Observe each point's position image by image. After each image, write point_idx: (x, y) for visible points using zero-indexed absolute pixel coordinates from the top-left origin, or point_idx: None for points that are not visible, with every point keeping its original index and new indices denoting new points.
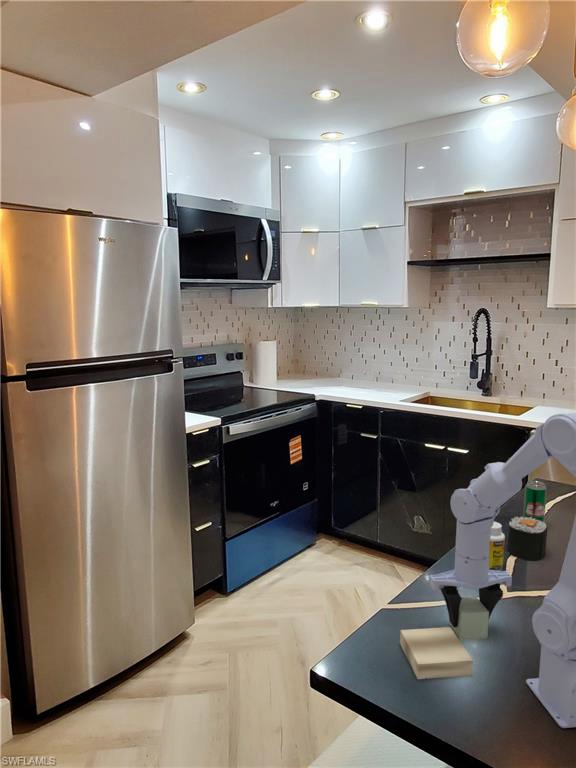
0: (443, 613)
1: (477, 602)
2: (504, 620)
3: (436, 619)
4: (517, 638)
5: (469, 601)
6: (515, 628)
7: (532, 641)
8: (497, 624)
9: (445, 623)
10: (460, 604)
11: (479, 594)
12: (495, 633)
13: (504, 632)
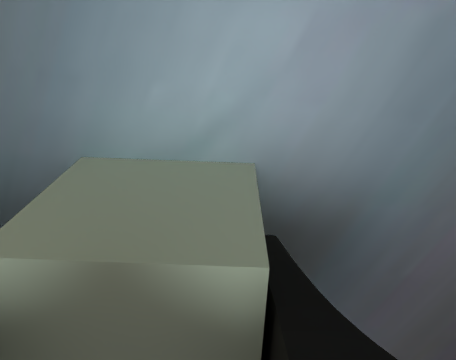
0: (72, 42)
1: (226, 349)
2: (447, 179)
3: (5, 108)
4: (394, 323)
5: (154, 328)
6: (450, 255)
7: (449, 348)
8: (375, 210)
9: (56, 157)
10: (46, 357)
11: (283, 346)
12: (309, 277)
13: (363, 276)
